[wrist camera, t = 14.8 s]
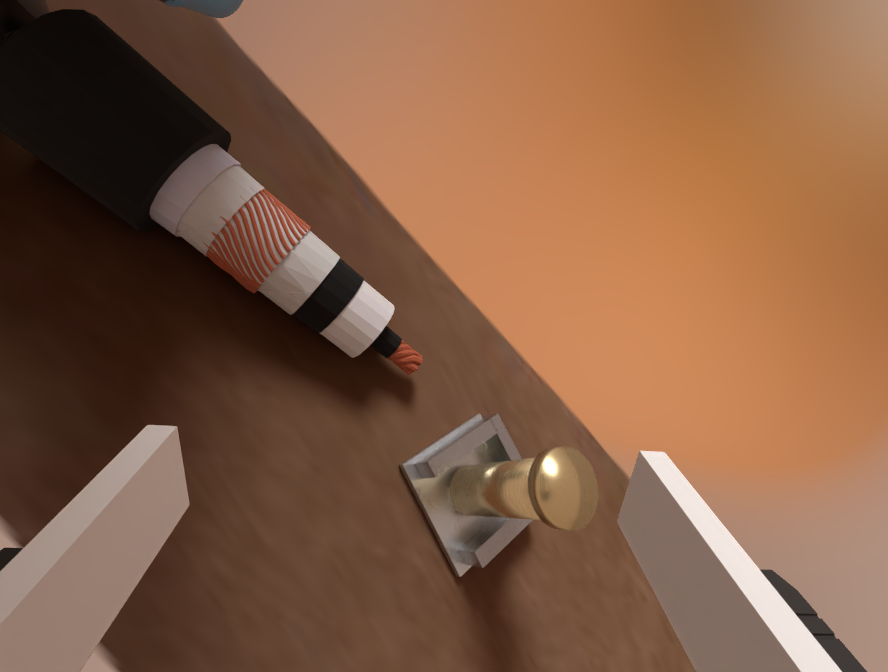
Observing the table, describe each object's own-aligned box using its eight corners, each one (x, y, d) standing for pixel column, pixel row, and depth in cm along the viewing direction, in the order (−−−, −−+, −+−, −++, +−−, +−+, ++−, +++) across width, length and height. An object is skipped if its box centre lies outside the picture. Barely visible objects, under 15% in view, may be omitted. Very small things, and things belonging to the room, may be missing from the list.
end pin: (434, 480, 40) (526, 473, 30) (476, 448, 43) (573, 432, 33) (462, 535, 40) (566, 548, 29) (503, 499, 43) (609, 500, 33)
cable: (372, 394, 45) (393, 425, 36) (39, 148, 34) (-57, 101, 25) (432, 319, 47) (468, 330, 37) (128, 56, 35) (69, -23, 26)
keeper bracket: (398, 465, 40) (416, 462, 37) (475, 414, 46) (495, 408, 43) (455, 575, 39) (477, 581, 36) (525, 510, 45) (549, 511, 42)
